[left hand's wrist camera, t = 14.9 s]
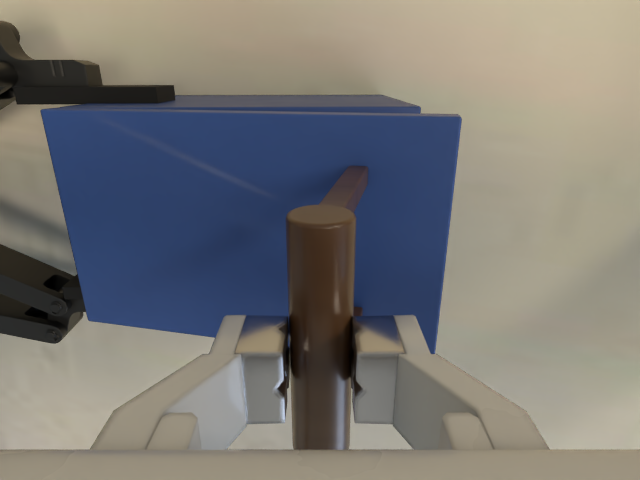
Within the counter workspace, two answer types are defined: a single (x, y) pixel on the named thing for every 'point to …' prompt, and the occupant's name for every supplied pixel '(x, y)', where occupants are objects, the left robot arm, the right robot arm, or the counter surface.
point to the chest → (274, 103)
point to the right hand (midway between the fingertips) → (178, 195)
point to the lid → (261, 228)
